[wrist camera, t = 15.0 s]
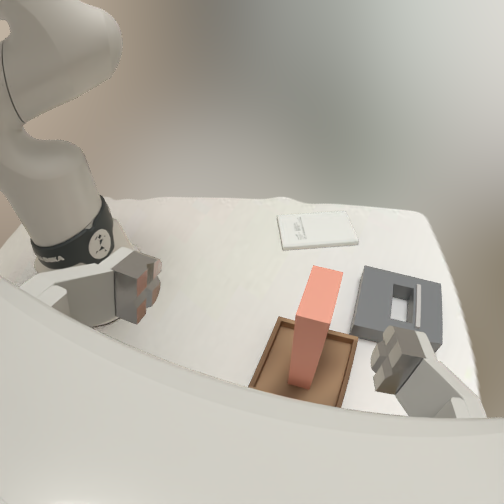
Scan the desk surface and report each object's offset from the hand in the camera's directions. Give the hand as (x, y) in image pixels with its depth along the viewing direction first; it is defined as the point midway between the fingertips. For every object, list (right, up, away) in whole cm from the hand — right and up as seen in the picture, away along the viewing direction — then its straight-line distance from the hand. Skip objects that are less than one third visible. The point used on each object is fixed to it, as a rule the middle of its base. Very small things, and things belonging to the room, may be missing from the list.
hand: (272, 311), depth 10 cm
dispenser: (+19, -6, +26) cm, 33 cm away
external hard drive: (+10, +5, +39) cm, 41 cm away
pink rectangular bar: (+5, -11, +21) cm, 25 cm away
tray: (+5, -11, +22) cm, 25 cm away
